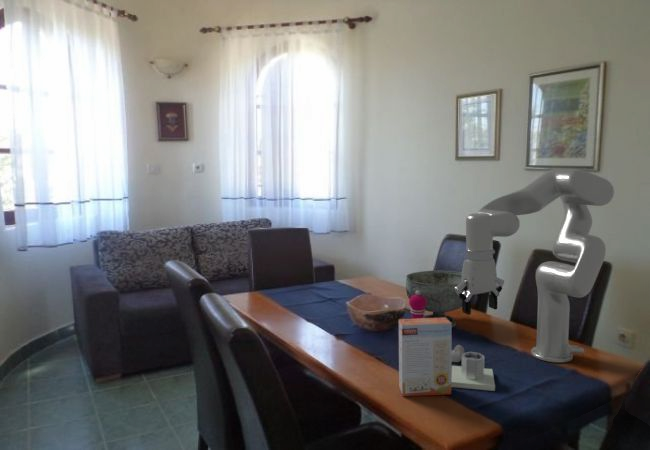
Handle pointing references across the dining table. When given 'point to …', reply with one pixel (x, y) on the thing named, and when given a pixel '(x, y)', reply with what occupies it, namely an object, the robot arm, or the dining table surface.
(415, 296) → the pepper mill
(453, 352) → the pale two-lobed sculpture
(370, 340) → the dining table surface
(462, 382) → the square plate with knob
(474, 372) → the sleeve
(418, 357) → the cracker box
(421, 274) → the decorative bowl
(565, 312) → the robot arm
